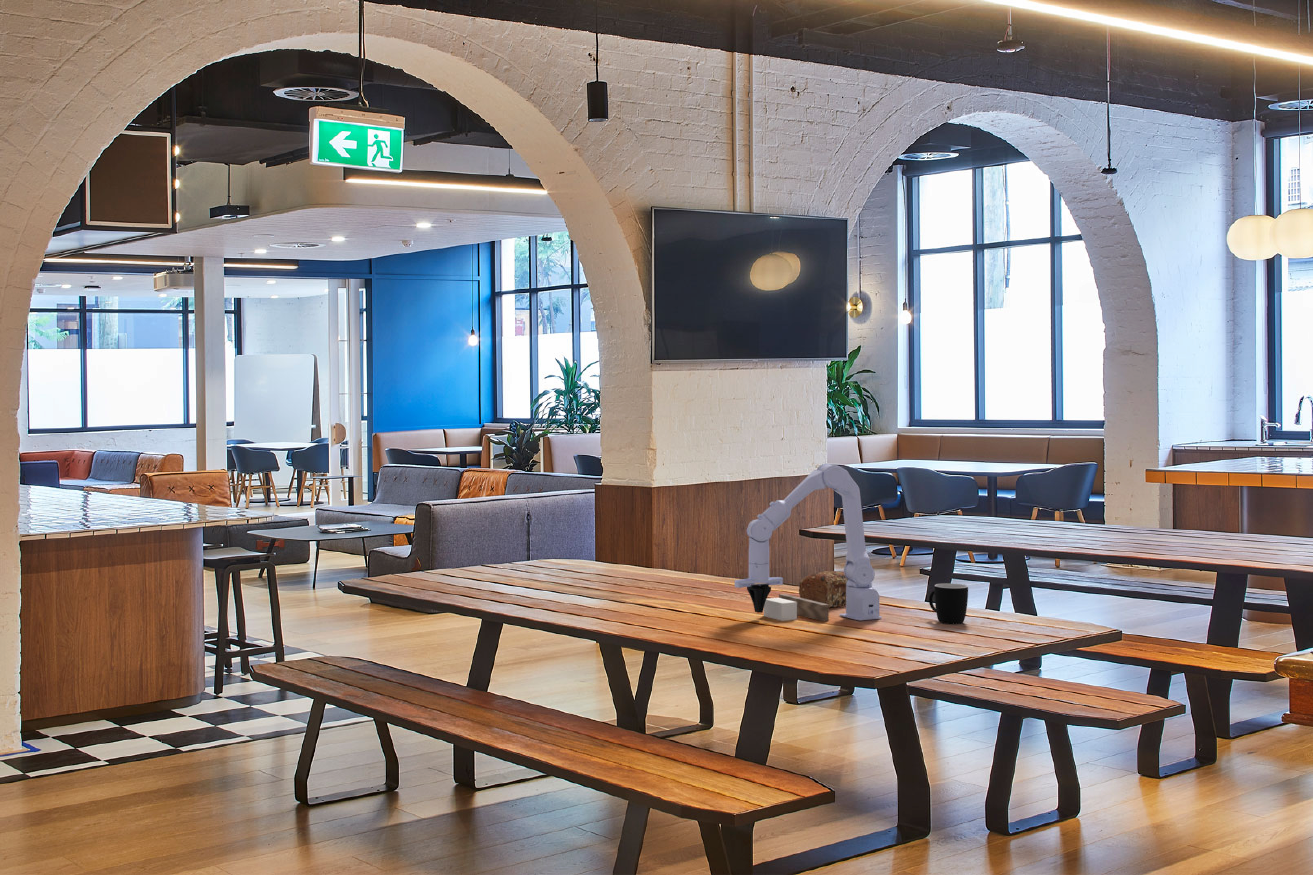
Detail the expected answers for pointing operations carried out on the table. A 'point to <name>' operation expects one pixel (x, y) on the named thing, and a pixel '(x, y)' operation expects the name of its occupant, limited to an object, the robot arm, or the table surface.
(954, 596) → the mug
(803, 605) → the board
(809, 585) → the bread
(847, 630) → the table surface
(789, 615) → the block
